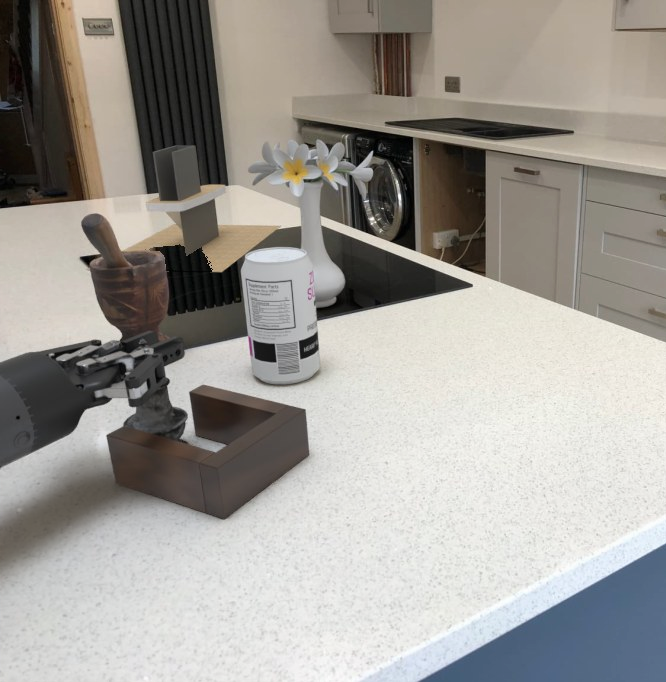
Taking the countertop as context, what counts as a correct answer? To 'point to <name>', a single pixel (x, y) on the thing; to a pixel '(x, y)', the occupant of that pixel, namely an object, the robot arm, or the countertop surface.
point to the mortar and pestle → (127, 281)
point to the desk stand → (207, 466)
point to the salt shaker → (158, 412)
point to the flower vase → (313, 200)
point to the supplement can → (281, 314)
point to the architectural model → (195, 213)
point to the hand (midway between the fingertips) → (167, 343)
